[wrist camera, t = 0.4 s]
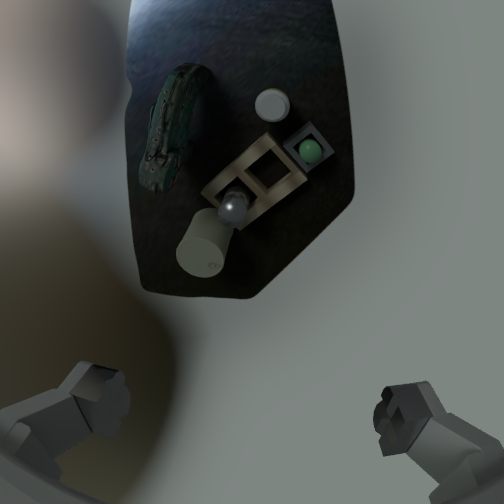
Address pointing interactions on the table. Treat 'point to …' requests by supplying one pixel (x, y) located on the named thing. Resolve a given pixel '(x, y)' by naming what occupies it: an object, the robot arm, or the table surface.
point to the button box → (301, 134)
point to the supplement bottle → (272, 105)
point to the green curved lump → (171, 128)
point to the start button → (310, 150)
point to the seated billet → (234, 205)
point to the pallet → (240, 169)
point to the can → (204, 244)
